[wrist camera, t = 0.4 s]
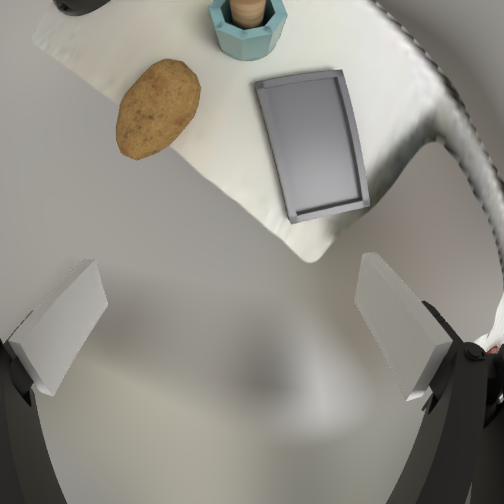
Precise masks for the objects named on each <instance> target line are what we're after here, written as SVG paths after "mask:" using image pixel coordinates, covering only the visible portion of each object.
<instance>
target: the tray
mask: <svg viewBox="0 0 504 504" xmlns="http://www.w3.org/2000/svg"><path fill="white" fill-rule="evenodd" d="M255 88H256V92H257V95H258V99H259V102H260V106H261V109H262V113H263V117H264V120H265V124H266V128H267V132H268V136H269V139H270V143H271V147H272V151H273V155H274V159H275V163H276V167H277V171H278V175H279V179H280V184H281V188H282V192H283V196H284V201H285V205H286V209H287V214H288V218H289V221H290V223H291V224H295V223H299V222H303V221H307V220H312V219H316V218H320V217H324V216H329V215H333V214H337V213H342V212H346V211H350V210H355V209H359V208H363V207H368V206H370V202H369V195H368V187H367V180H366V174H365V168H364V162H363V156H362V151H361V145H360V140H359V135H358V130H357V126H356V121H355V117H354V113H353V108H352V104H351V100H350V96H349V93H348V89H347V85H346V81H345V78H344V74H343V71H342V70H331V71H322V72H314V73H306V74H299V75H293V76H287V77H281V78H276V79H270V80H265V81H261V82H256V83H255Z"/></svg>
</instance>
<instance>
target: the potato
mask: <svg viewBox="0 0 504 504" xmlns="http://www.w3.org/2000/svg"><path fill="white" fill-rule="evenodd" d="M200 91H201V87H200V84H199V81H198V78H197V76H196V74H195V73H194V72H192V71H191V69H190V68H189V67H188V66H187V65H186V64H185V63H184V62H182V61H177V60H172V59H164V60H162V61H159V62H157V63H155V64H153V65H152V66H151V67H150V68H149V69H148V70H147V71H146V72H144V73H143V74H142V76H141V77H140V78H139V79H138V80H137V81H136V83H135V84H134V85H133V86H132V87H131V88H130V89H129V90H128V91H127V92H126V94H125V96H124V98H123V100H122V102H121V104H120V109H119V115H118V120H117V125H116V141H117V144H118V146H119V149H120V151H121V153H122V154H123V155H125V156H128V157H130V158H132V159H135V160H140V159H142V158H145V157H148V156H150V155H153V154H156V153H158V152H160V151H161V150H163V149H164V148H166V147H167V146H169V145H170V144H171V143H172V142H173V141H174V140H175V139H176V138H177V137H178V136H179V134H180V133H181V132H182V131H183V130H184V129H185V127H186V126H187V125H188V124H189V122H190V121H191V120H192V118H193V117H194V115H195V113H196V110H197V107H198V105H199V98H200Z"/></svg>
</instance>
